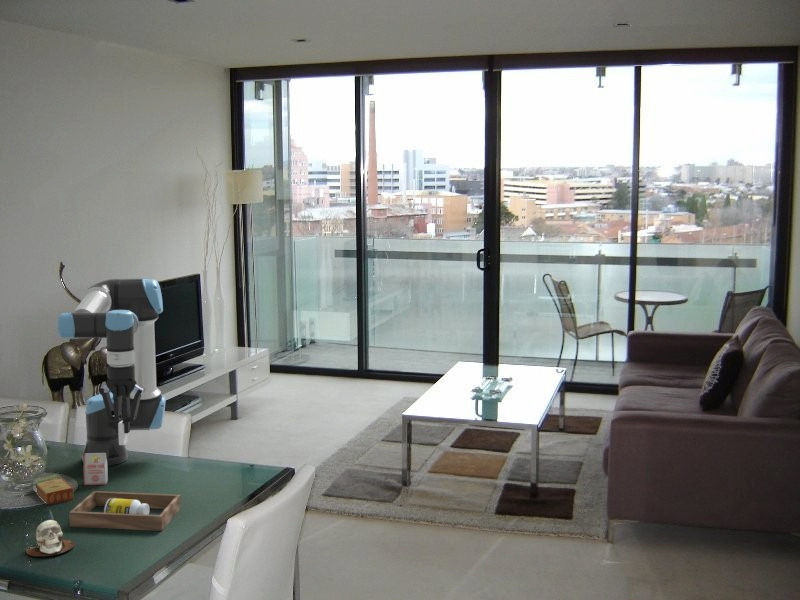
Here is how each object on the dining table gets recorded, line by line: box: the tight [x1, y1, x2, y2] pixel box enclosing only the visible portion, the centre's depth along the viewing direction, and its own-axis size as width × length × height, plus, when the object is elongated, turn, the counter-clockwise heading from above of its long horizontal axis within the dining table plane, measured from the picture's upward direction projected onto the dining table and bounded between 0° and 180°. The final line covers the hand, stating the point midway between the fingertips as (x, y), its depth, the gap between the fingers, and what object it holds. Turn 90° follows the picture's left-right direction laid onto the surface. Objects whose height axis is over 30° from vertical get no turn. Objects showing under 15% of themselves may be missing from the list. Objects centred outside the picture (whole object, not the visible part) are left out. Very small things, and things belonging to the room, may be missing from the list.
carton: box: [36, 473, 74, 505], centre depth 272 cm, size 8×16×4 cm, turn 38°
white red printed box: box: [82, 453, 109, 486], centre depth 283 cm, size 4×7×10 cm, turn 98°
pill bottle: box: [103, 498, 150, 515], centre depth 252 cm, size 6×6×12 cm
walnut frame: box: [68, 490, 182, 532], centre depth 256 cm, size 17×27×4 cm, turn 86°
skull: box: [25, 519, 75, 557], centre depth 234 cm, size 12×10×10 cm
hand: (123, 443), depth 253 cm, fingers closed
